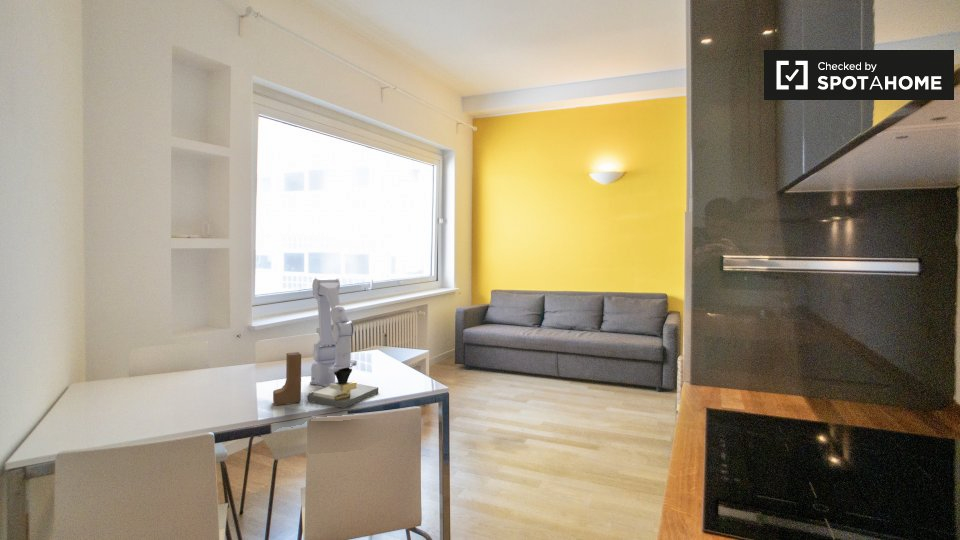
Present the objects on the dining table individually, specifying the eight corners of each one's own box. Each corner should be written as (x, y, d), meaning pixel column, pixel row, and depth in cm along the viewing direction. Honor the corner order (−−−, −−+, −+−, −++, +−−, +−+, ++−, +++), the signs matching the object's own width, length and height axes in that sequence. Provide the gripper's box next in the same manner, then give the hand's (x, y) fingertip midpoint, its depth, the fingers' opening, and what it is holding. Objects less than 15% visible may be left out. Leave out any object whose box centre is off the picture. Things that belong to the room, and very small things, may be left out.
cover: (313, 395, 187) (313, 388, 187) (329, 389, 195) (329, 382, 195) (334, 399, 183) (334, 392, 183) (350, 392, 191) (350, 386, 191)
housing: (307, 400, 187) (307, 392, 187) (343, 386, 206) (343, 379, 206) (344, 408, 180) (344, 399, 180) (378, 392, 200) (378, 384, 200)
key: (336, 400, 182) (336, 386, 182) (334, 399, 183) (334, 386, 182) (356, 395, 188) (356, 382, 188) (354, 394, 189) (354, 381, 189)
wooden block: (274, 406, 180) (275, 356, 179) (273, 402, 184) (273, 353, 183) (301, 402, 185) (301, 354, 184) (298, 399, 189) (299, 351, 188)
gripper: (339, 358, 186) (338, 394, 187) (363, 350, 199) (362, 384, 200) (323, 355, 189) (323, 391, 189) (348, 348, 202) (348, 381, 203)
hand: (342, 387), depth 195 cm, fingers closed
